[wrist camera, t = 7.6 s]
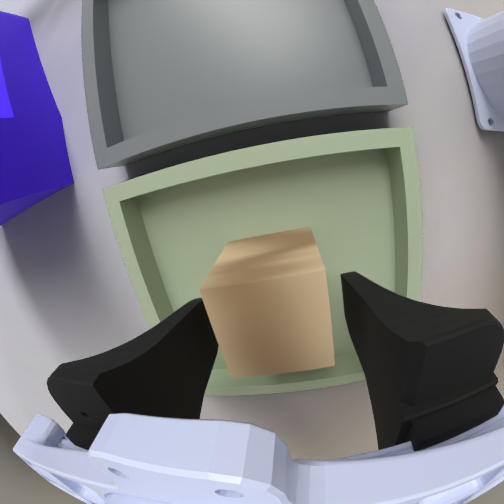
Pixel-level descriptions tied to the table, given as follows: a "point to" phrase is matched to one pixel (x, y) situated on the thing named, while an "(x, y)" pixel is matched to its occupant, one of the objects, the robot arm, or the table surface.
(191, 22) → the charcoal bin
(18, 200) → the bracket
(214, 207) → the olive bin
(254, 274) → the oak block
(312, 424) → the table surface
